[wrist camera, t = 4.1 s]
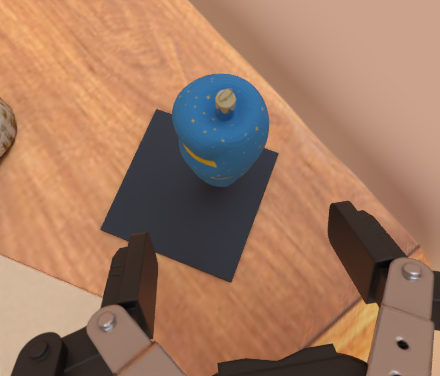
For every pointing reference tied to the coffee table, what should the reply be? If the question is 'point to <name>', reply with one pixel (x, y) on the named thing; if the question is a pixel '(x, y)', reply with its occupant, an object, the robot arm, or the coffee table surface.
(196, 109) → the ornament
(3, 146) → the seashell
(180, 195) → the slate mat
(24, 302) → the cream mat
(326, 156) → the coffee table surface
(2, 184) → the coffee table surface
